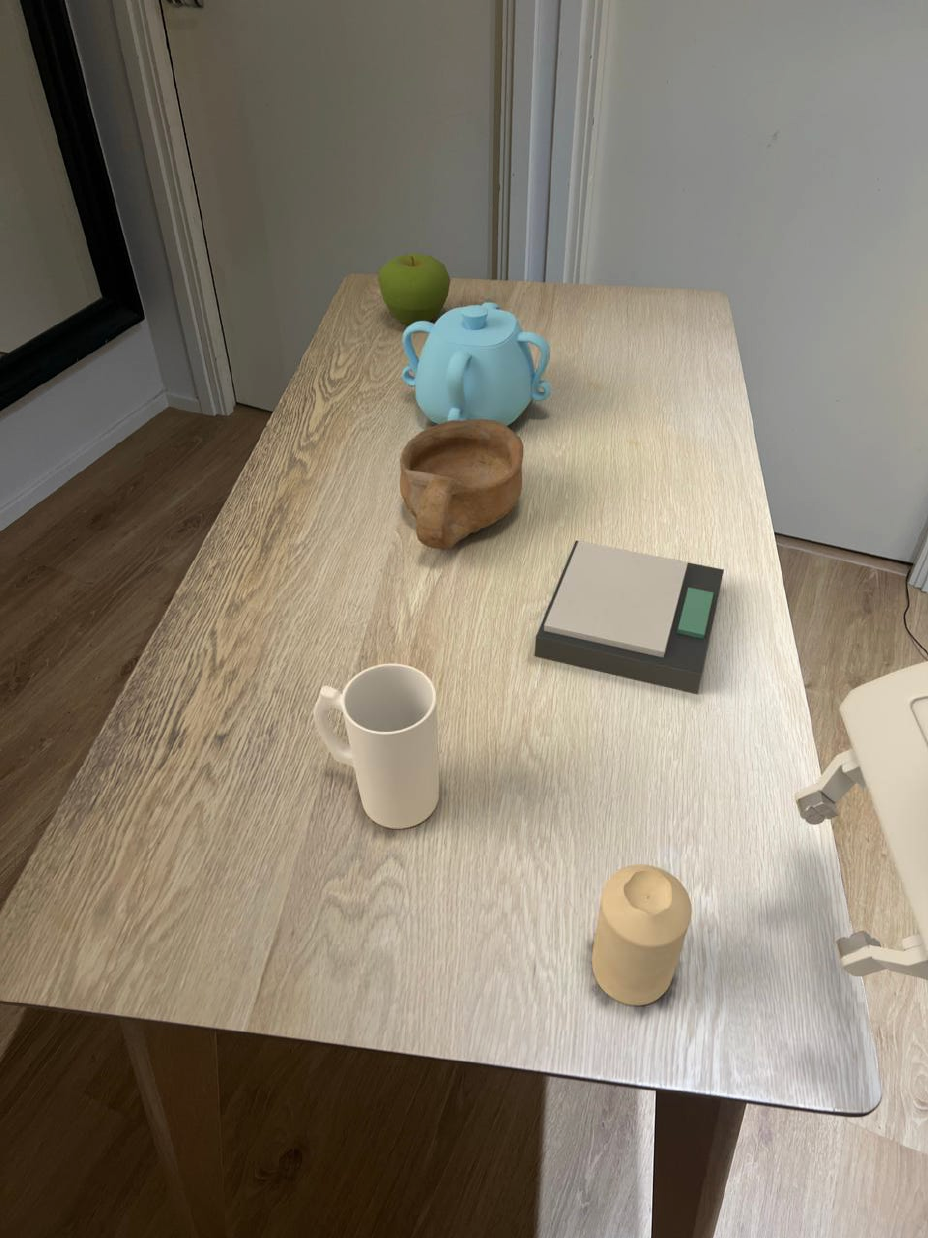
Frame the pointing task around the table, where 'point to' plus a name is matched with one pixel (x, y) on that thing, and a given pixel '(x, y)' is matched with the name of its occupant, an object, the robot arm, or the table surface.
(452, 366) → the decorative pot
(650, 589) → the scale
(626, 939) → the candle
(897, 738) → the robot arm
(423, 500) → the bowl
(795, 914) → the table surface
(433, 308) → the apple
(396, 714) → the mug
